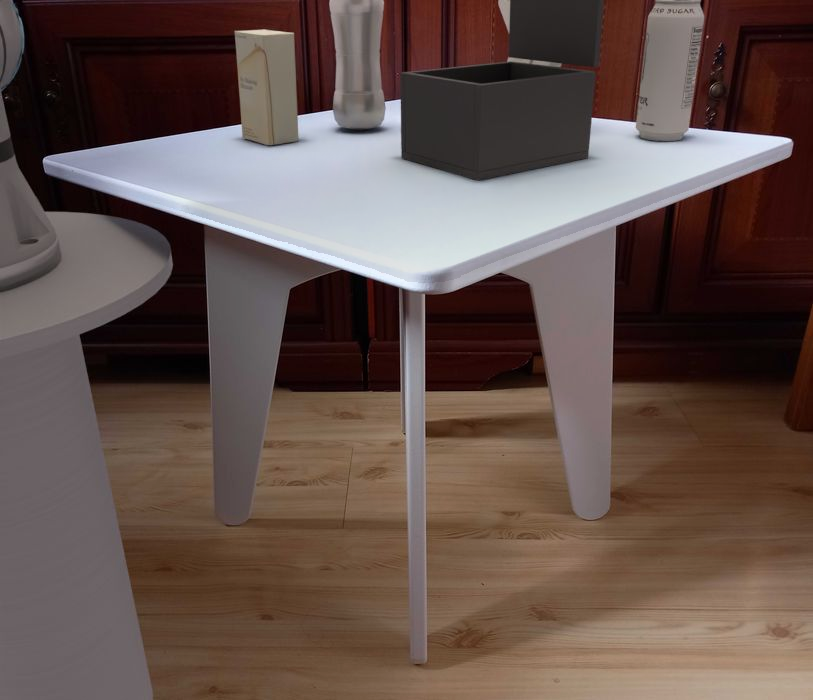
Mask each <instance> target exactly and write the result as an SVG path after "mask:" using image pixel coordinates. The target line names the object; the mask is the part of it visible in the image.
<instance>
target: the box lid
mask: <svg viewBox="0 0 813 700" xmlns="http://www.w3.org/2000/svg"><path fill="white" fill-rule="evenodd" d="M604 2H605V0H510V27H509V32H508V57H510V58H519V59H527V60H536V61H544V62H553V63H562V65H570V66H581V67H589V68H597V67H600V58H601V57H600V56H601V45H602V44H601V43H602V30H603V16H604Z"/></svg>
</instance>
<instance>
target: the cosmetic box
mask: <svg viewBox="0 0 813 700" xmlns="http://www.w3.org/2000/svg"><path fill="white" fill-rule="evenodd" d="M234 40H235V53H236V66H237V67H236V68H237V79H238V94H239V108H240V118H241V119H240V122H241V135H242V138H243V139H246V140H249V141H253V142H256V143H258V144H262V145H265V146H276V145H283V144H289V143H294V142H299V119H298V118H299V117H298V99H297V97H298V95H297V94H298V93H297V74H296V73H297V72H296V51H295V50H296V48H295V33H294V32H287V31H280V30H271V29H251V30H250V29H249V30H234Z"/></svg>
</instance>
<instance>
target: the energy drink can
mask: <svg viewBox="0 0 813 700" xmlns="http://www.w3.org/2000/svg"><path fill="white" fill-rule="evenodd" d="M701 2H702V0H655V4H654V6H653V8H652V9H651V11H650V12H649V14H648V17H647V22H646V32H645V42H644V49H643V57H642V59H643V60H642V67H641V77H640V87H639V94H638V104H637V112H636V122H635V129H636V130H637V131H638V132H639V133H638V134H639V137H640V138H641V139H643V140H647V141H648V140H649V141H654V142H655V141H657V142H674V141H680V140H682V139H683V137H684V135H685V134H686V133H688V132H689V129H690V122H691V114H692V107H693V100H694V94H695V86H696V81H697V79H696V78H697V73H698V65H699V59H700V50H701V45H702V37H703V30H704V22H705V14H704V11H703V9H702V7H701Z"/></svg>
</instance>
